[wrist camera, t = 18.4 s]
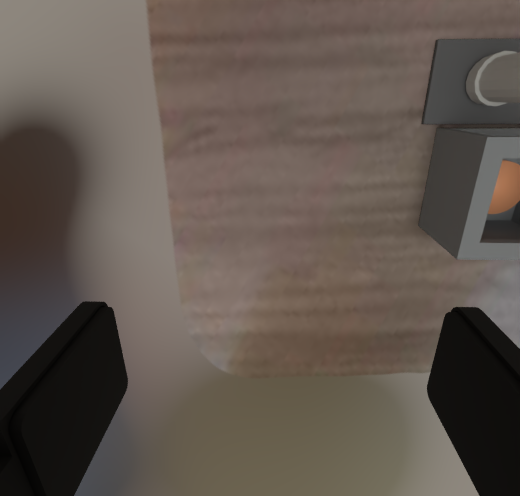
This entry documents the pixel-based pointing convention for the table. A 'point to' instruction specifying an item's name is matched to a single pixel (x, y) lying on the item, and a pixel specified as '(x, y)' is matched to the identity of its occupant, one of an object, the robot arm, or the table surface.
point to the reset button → (506, 188)
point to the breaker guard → (471, 193)
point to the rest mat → (464, 84)
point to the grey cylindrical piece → (495, 79)
